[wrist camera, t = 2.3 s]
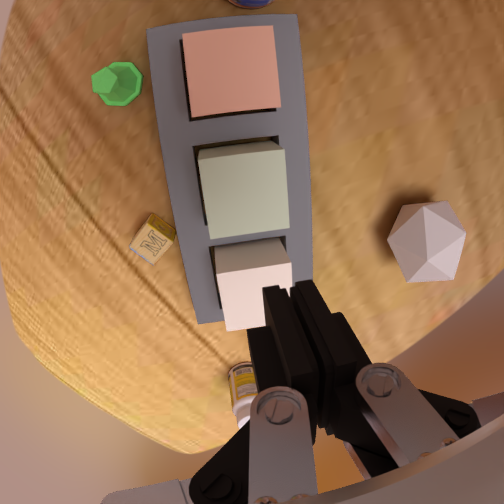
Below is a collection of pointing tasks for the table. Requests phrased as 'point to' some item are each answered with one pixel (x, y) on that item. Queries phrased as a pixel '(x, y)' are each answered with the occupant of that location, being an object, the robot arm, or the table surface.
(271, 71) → the terracotta block
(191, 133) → the board
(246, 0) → the pill bottle
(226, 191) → the green block
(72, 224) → the table surface
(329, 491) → the robot arm
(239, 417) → the supplement bottle
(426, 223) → the die
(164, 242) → the alphabet block
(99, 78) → the game piece
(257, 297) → the cream block
